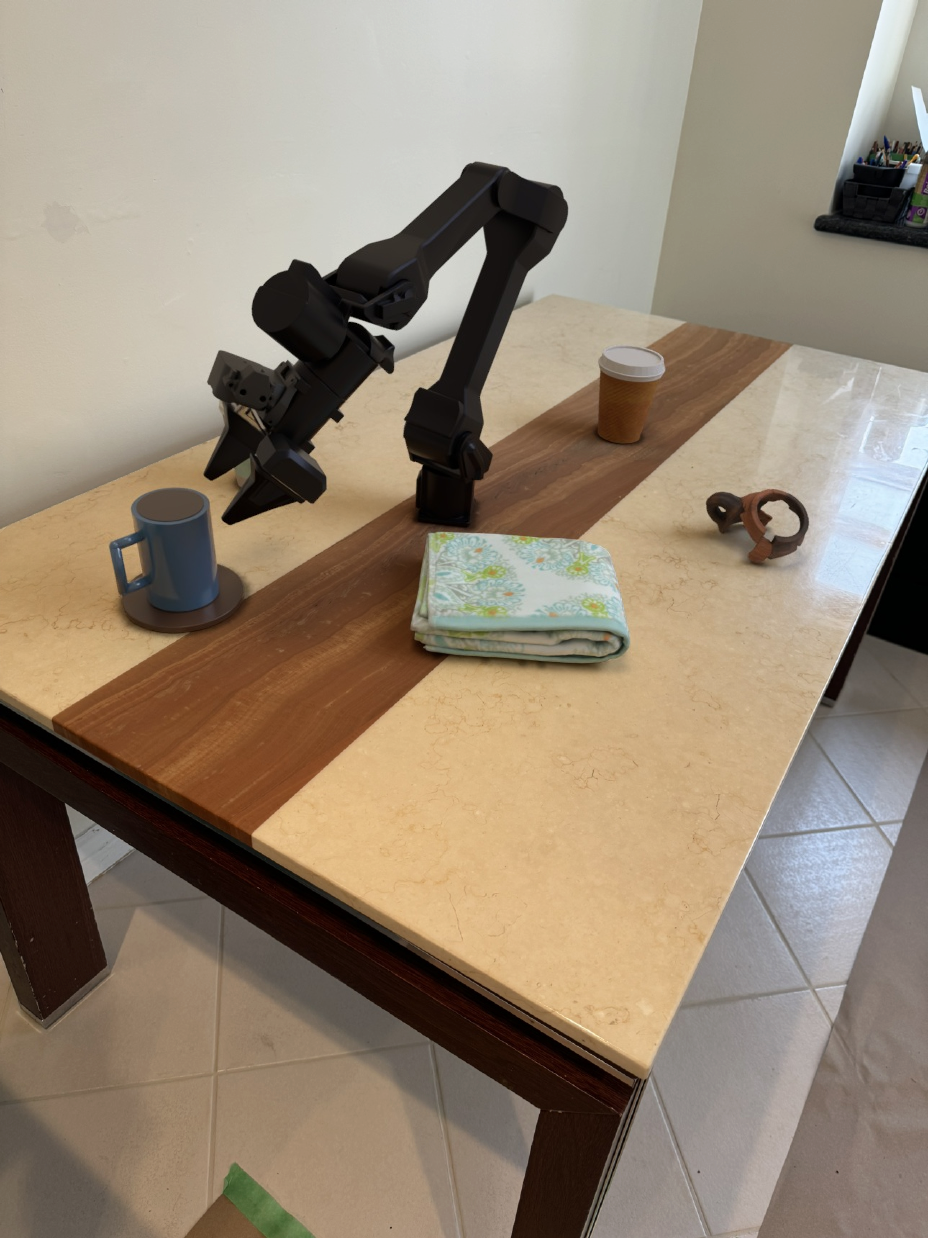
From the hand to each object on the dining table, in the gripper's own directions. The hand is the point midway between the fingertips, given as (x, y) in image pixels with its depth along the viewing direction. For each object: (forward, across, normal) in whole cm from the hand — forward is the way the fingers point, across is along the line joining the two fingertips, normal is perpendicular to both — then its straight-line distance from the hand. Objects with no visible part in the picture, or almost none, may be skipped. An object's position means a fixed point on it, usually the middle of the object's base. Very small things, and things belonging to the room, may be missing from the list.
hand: (215, 499), depth 85 cm
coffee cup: (+2, -23, +14) cm, 27 cm away
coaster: (+11, 0, +5) cm, 12 cm away
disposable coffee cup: (-36, -23, +52) cm, 67 cm away
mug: (+11, +1, +3) cm, 12 cm away
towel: (-12, +13, +27) cm, 32 cm away
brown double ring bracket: (-36, +9, +51) cm, 63 cm away
